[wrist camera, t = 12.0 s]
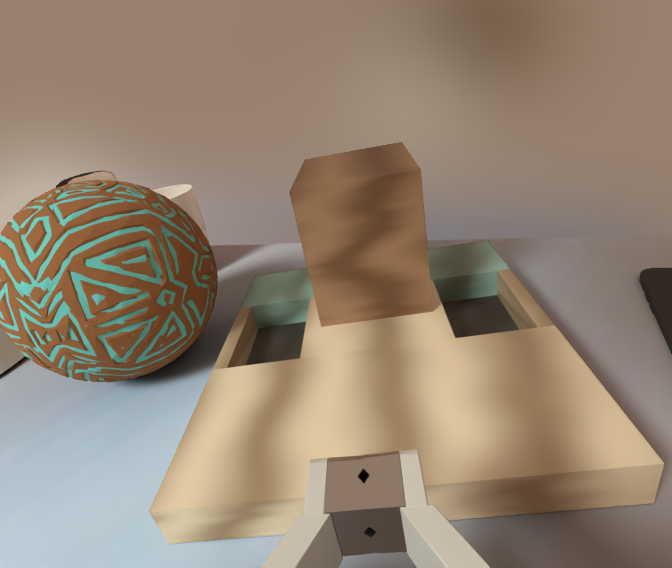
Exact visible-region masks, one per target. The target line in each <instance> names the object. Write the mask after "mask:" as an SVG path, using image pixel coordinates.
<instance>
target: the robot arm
mask: <svg viewBox="0 0 672 568" xmlns="http://www.w3.org/2000/svg"><path fill="white" fill-rule="evenodd" d="M24 356H25V355H24V354H23V353H22V352H21V351H20V350H19V349H18V348H17V347H16V346H15V345H14V344H13V343H12V342H11V341H10V340H9V339H8V338H7V336H6V333H5V332H4V331H3V330H2V329H1V328H0V374H1V373H3V372H4V371H6V370H7V369H9V368H10V367H12V366H13V365H14V364H16V363H17V362H18V361H20V360H21V359H22V358H23V357H24ZM399 454H400V456H399ZM391 552H407V554H408V555H409V557H410V558H411V560H412V561H413V563H414V564H415V566H416V567H417V568H490V567H489V565H488V564H487V563H486V562H485V561H484V560H483V559H482V558H481V557H480V555H479V554H478V553H477V552H476V551H475V550H474V549H473V548H472V547H471V545H470V544H469V543H468V542H467V541H466V540H465V539H464V538H463V537H462V535H461V534H460V533H459V532H458V531H457V530H456V529H455V528H454V527H453V525H452V524H451V523H450V522H449V521H448V520H447V519H446V518H445V517H444V515H443V514H442V513H441V512H440V511H439V510H438V509H437V508H436V507H435V505H428V500H427V495H426V489H425V484H424V478H423V473H422V467H421V462H420V456H419V452H418V449H414V450H404V451H391V452H382V453H373V454H364V455H360V456H346V457H331V458H320V459H311V460H310V462H309V466H308V476H307V485H306V495H305V505H304V515H303V516H298V517H297V518H296V520H295V521H294V523H293V524H292V525H291V527H290V528H289V529H288V531H287V532H286V534H285V535H284V536H283V538H282V539H281V541H280V542H279V543H278V545H277V546H276V547H275V549H274V550H273V552H272V553H271V554H270V556H269V557H268V559H267V560H266V561H265V563H264V564H263V566H262V567H261V568H339V566H340V564H341V562H342V560H343V557H342V556H352V555H361V554H371V553H391Z"/></svg>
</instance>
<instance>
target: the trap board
mask: <svg viewBox="0 0 672 568" xmlns="http://www.w3.org/2000/svg"><path fill="white" fill-rule="evenodd" d="M428 260H429V272H430V283H431V295H432V306H433V312H427V313H419V314H412V315H405V316H398V317H390V318H383V319H376V320H369V321H361V322H354V323H347V324H339V325H332V326H325V327H321V324H320V320H319V315H318V311H317V307H316V303H315V298H314V294H313V290H312V286H311V281H310V277H309V273H308V269H307V268H305V269H298V270H292V271H285V272H279V273H272V274H266V275H259V276H254V279H253V281H252V283H251V285H250V288H249V290H248V292H247V294H246V296H245V299H244V301H243V303H242V305H241V308H240V310H239V312H238V314H237V317H236V319H235V321H234V323H233V325H232V328H231V330H230V332H229V334H228V337H227V339H226V341H225V343H224V345H223V348H222V350H221V352H220V354H219V357H218V359H217V361H216V363H215V365H214V368H213V370H212V372H211V374H210V377H209V379H208V381H207V383H206V386H205V388H204V390H203V392H202V394H201V397H200V399H199V401H198V403H197V406H196V408H195V410H194V412H193V414H192V417H191V419H190V421H189V423H188V426H187V428H186V430H185V432H184V434H183V437H182V439H181V441H180V443H179V446H178V448H177V450H176V452H175V455H174V457H173V459H172V461H171V463H170V466H169V468H168V470H167V472H166V475H165V477H164V479H163V481H162V483H161V486H160V488H159V490H158V492H157V495H156V497H155V499H154V501H153V503H152V506H151V508H150V510H149V513H150V514H151V516H152V517H153V519H154V521H155V522H156V524H157V526H158V527H159V529H160V531H161V532H162V534H163V536H164V537H165V539H166V540H167V542H168V544H175V543H187V542H199V541H210V540H222V539H234V538H246V537H258V536H270V535H282V534H286V532H287V531H288V529H289V528H290V527H291V525H292V524H293V523H294V521H295V520H296V518H297V517H298V516H303V515H304V505H305V495H306V485H307V476H308V466H309V462H310V460H311V459H320V458H331V457H346V456H360V455H364V454H373V453H382V452H391V451H404V450H414V449H418V452H419V456H420V462H421V467H422V473H423V478H424V484H425V489H426V495H427V500H428V505H435V507H436V508H437V509H438V510H439V511H440V512H441V513H442V514H443V515H444V517H445V518H446V519H447V520H448V521H449V520H461V519H473V518H485V517H496V516H508V515H520V514H532V513H544V512H556V511H568V510H580V509H592V508H604V507H616V506H628V505H639V504H651V503H654V501H655V497H656V493H657V490H658V486H659V482H660V478H661V474H662V470H663V467H664V462H663V461H662V460H661V459H660V457H659V456H658V455H657V454H656V452H655V451H654V450H653V449H652V447H651V446H650V445H649V443H648V442H647V441H646V440H645V438H644V437H643V436H642V435H641V433H640V432H639V431H638V430H637V428H636V427H635V426H634V425H633V423H632V422H631V421H630V420H629V418H628V417H627V416H626V414H625V413H624V412H623V411H622V409H621V408H620V407H619V406H618V404H617V403H616V402H615V401H614V399H613V398H612V397H611V396H610V394H609V393H608V392H607V390H606V389H605V388H604V387H603V385H602V384H601V383H600V382H599V380H598V379H597V378H596V377H595V375H594V374H593V373H592V372H591V370H590V369H589V368H588V367H587V365H586V364H585V363H584V361H583V360H582V359H581V358H580V356H579V355H578V354H577V353H576V351H575V350H574V349H573V348H572V346H571V345H570V344H569V343H568V341H567V340H566V339H565V338H564V336H563V335H562V334H561V332H560V331H559V330H558V329H557V327H556V326H555V325H554V324H553V322H552V321H551V320H550V319H549V317H548V316H547V315H546V314H545V312H544V311H543V310H542V308H541V307H540V306H539V305H538V303H537V302H536V301H535V300H534V298H533V297H532V296H531V295H530V293H529V292H528V291H527V290H526V288H525V287H524V286H523V285H522V283H521V282H520V281H519V279H518V278H517V277H516V276H515V274H514V273H513V272H512V271H511V269H510V268H509V267H508V266H507V264H506V263H505V262H504V261H503V259H502V258H501V257H500V256H499V254H498V253H497V252H496V250H495V249H494V248H493V247H492V245H491V244H490V243H489V242H488V240H487V241H480V242H474V243H467V244H461V245H454V246H448V247H441V248H435V249H428ZM399 456H400V454H399Z"/></svg>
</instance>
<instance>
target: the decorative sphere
mask: <svg viewBox="0 0 672 568" xmlns="http://www.w3.org/2000/svg"><path fill="white" fill-rule="evenodd" d="M216 294H217V270H216V263H215V259H214V256H213V252H212V250H211V247H210V245H209V242H208V240H207V238H206V237H205V235H204V233H203V232H202V230H201V229H200V227H199V226H198V225H197V223H196V222H195V221H194V220H193V219H192V218H191V217H190V216H189V215H188V213H187V212H186V211H184V210H183V209H182V208H181V207H180V206H178V205H177V204H176V203H174V202H172V201H171V200H169V199H168V198H167V197H165V196H163V195H161V194H159V193H156V192H154V191H152V190H150V189H149V188H146V187H143V186H140V185H134V184H132V183H127V182H119V181H112V180H90V181H82V182H74V183H70V184H66V185H63V186H61V187H58V188H54V189H52V190H50V191H48V192H46V193H44V194H42V195H41V196H39V197H37V198H35V199H33V200H32V201H31V202H29V203H28V204H27V205H26V206H25V207H23V208H22V209H21V210H20V211H19V212H18V213H16V214H15V215H14V216H13V219H12V221H11V222H8V223H7V225H6V226H5V228H4V229H3V230H2V232H1V237H0V328H1V329H2V330H3V331H4V332H5V333H6V336H7V338H8V339H9V340H10V341H11V342H12V343H13V344H14V345H15V346H16V347H17V348H18V349H19V350H20V351H21V352H22V353H23V354H24V355H25V356H26V357H28V358H29V359H31V360H32V361H34V362H35V363H36V364H38V365H40V366H42V367H44V368H46V369H48V370H50V371H53V372H55V373H58V374H60V375H63V376H66V377H72V378H73V379H77V380H82V381H88V380H91V382H114V381H123V380H125V379H126V378H131V379H133V378H136V377H137V376H141V375H146V374H148V373H151V372H153V371H156V370H158V369H160V368H162V367H163V366H166V365H167V364H169V363H170V362H172V361H174V360H175V359H176V358H178V357H179V356H180V355H182V353H184V352H185V351H186V350H187V349H188V348H189V347H190V346H191V345H192V344H193V343H194V342H195V340H196V339H197V338H198V337H199V335H200V334H201V333H202V331H203V329H204V327H205V326H206V323H207V322H208V320H209V318H210V316H211V312H212V310H213V308H214V303H215V298H216Z"/></svg>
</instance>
